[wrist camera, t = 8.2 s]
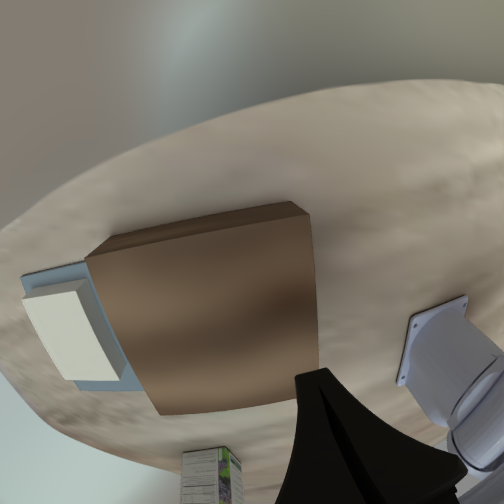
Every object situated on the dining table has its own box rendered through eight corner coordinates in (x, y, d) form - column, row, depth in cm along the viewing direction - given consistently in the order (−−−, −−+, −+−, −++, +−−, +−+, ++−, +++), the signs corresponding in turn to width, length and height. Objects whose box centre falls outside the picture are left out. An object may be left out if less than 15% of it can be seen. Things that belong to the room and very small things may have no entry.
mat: (164, 386, 21) (163, 389, 21) (81, 387, 21) (79, 390, 21) (109, 255, 17) (107, 257, 17) (22, 275, 17) (19, 277, 16)
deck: (306, 358, 22) (319, 392, 18) (166, 380, 21) (160, 415, 17) (290, 200, 17) (309, 214, 13) (110, 236, 17) (84, 258, 13)
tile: (64, 379, 18) (72, 365, 20) (119, 380, 18) (125, 364, 20) (21, 299, 15) (33, 288, 17) (75, 290, 15) (87, 278, 17)
